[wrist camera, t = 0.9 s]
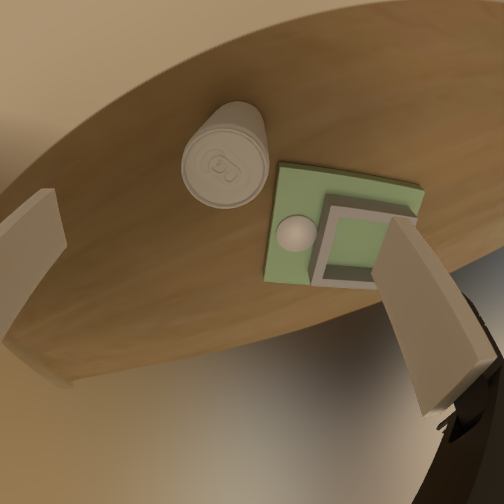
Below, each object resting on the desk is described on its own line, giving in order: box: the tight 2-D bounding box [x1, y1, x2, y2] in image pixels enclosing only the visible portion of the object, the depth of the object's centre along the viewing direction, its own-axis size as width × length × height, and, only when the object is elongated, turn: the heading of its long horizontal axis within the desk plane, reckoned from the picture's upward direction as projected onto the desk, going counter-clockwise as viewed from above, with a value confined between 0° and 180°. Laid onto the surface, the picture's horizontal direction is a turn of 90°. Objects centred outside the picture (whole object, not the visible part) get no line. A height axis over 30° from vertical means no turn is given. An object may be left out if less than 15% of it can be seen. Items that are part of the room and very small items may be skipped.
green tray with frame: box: [263, 162, 425, 290], centre depth 29 cm, size 15×13×4 cm
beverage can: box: [181, 101, 270, 209], centre depth 20 cm, size 5×5×12 cm
